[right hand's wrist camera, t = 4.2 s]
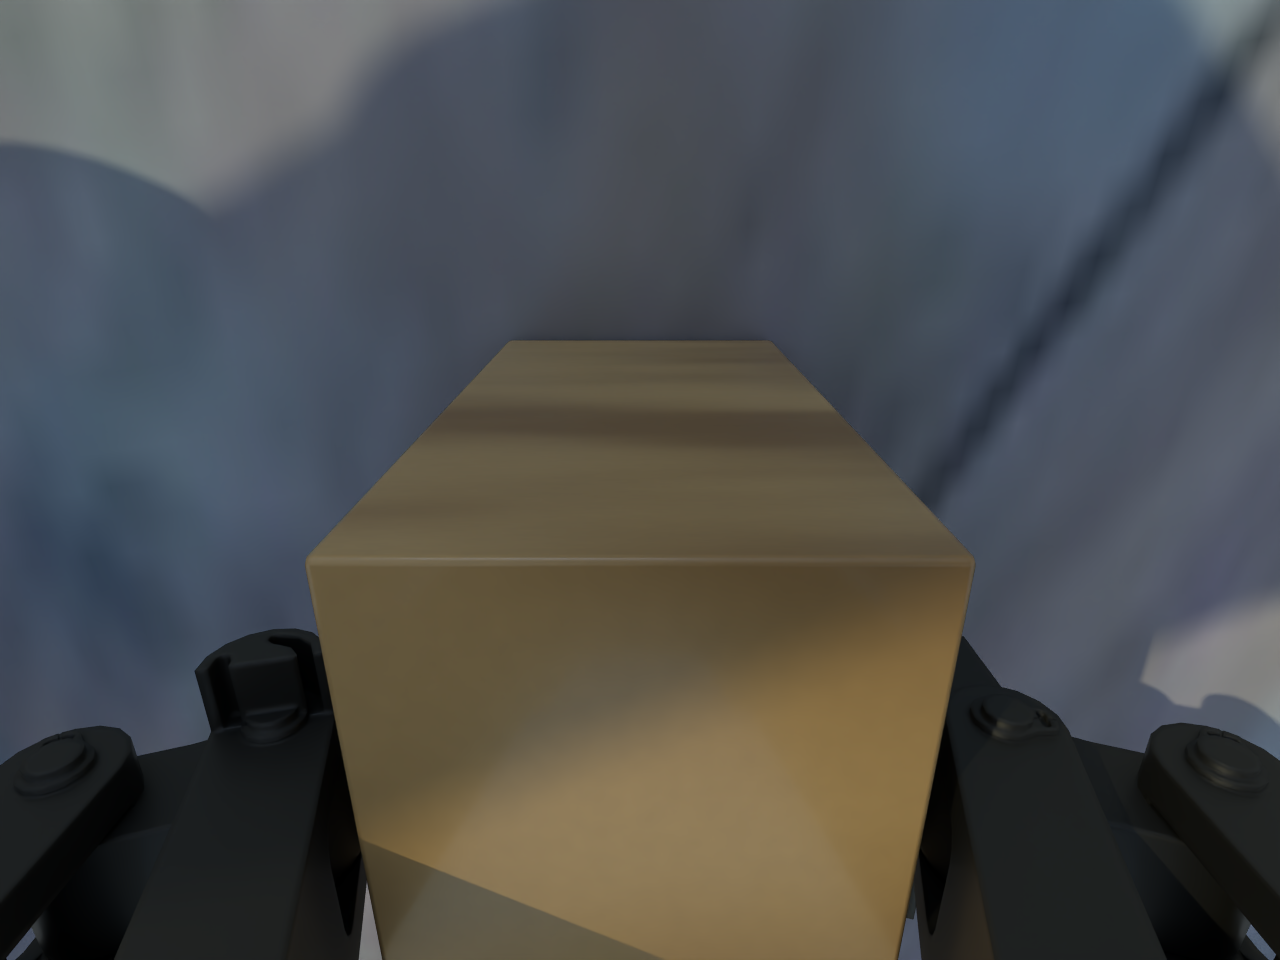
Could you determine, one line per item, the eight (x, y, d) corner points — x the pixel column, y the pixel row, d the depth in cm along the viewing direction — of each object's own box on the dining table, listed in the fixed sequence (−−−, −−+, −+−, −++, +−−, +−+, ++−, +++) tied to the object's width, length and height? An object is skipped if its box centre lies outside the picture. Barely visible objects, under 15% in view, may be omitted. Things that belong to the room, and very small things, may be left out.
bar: (508, 339, 14) (299, 557, 5) (772, 339, 14) (980, 558, 5) (556, 1049, 22) (503, 1585, 13) (723, 1048, 22) (776, 1585, 13)
